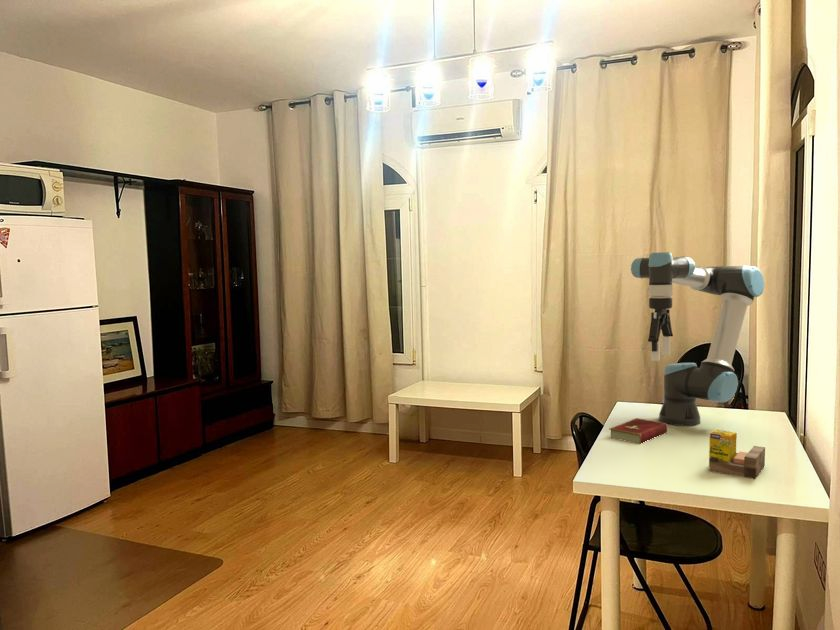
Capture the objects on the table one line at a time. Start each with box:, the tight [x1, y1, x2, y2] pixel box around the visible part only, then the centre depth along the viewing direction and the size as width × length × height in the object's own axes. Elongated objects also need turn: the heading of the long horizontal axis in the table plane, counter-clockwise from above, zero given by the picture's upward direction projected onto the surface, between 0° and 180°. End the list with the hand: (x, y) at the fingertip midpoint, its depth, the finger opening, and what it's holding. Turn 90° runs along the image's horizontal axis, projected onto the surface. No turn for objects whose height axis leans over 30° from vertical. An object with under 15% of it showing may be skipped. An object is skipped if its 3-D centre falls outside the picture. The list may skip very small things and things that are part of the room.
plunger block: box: [733, 451, 748, 464], centre depth 192 cm, size 8×3×4 cm, turn 142°
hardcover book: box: [608, 418, 668, 445], centre depth 232 cm, size 12×21×4 cm, turn 135°
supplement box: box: [708, 428, 737, 463], centre depth 194 cm, size 6×6×11 cm
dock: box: [708, 445, 766, 480], centre depth 193 cm, size 14×12×6 cm
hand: (660, 357), depth 222 cm, fingers open, 13 cm apart
